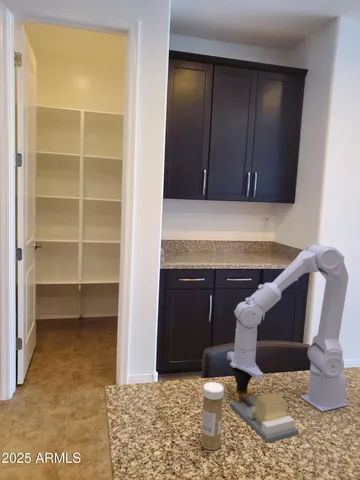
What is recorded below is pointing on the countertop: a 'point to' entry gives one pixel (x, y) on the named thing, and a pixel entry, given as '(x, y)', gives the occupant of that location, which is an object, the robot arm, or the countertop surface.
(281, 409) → the brass block
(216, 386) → the sprinkles bottle
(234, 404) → the vise base
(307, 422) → the countertop surface
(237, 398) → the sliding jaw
